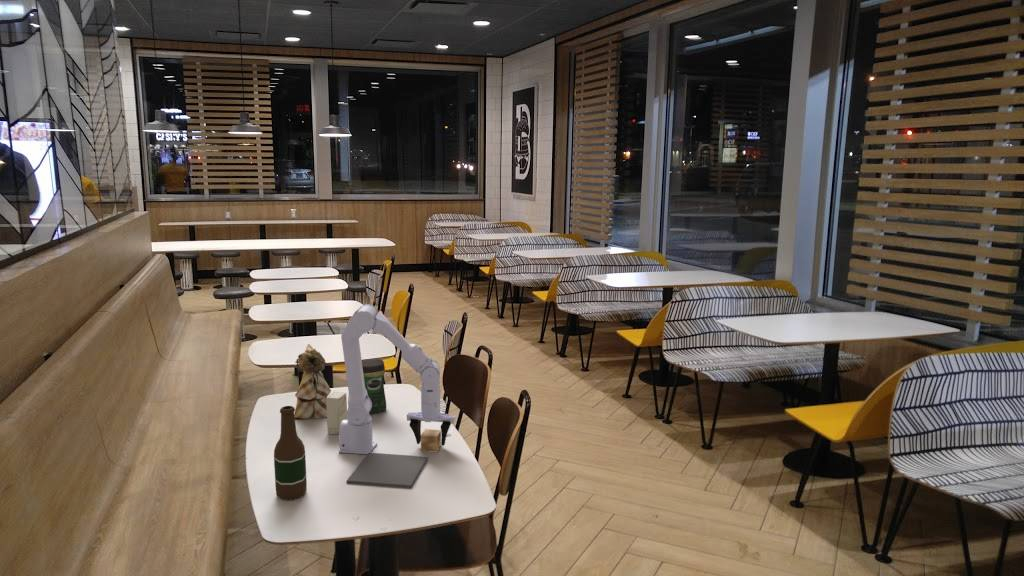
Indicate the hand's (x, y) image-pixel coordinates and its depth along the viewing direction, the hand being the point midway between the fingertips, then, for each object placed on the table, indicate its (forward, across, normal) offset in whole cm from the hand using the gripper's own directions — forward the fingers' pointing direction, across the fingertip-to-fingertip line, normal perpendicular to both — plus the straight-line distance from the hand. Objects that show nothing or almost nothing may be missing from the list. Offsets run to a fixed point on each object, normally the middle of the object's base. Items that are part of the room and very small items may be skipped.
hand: (431, 443), depth 208 cm
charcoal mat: (+1, -8, -17) cm, 19 cm away
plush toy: (+2, -46, +21) cm, 51 cm away
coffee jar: (+2, -28, +27) cm, 39 cm away
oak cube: (+2, 0, 0) cm, 2 cm away
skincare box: (+2, -33, +8) cm, 34 cm away
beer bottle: (+2, -29, -34) cm, 45 cm away
